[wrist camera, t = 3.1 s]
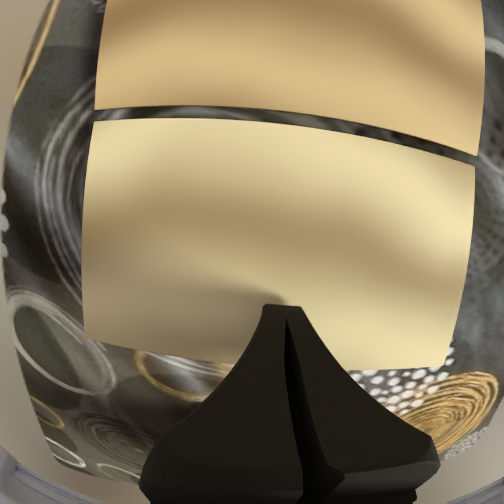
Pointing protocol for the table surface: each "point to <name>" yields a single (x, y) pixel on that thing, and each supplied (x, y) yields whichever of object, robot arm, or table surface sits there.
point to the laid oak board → (303, 60)
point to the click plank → (271, 239)
